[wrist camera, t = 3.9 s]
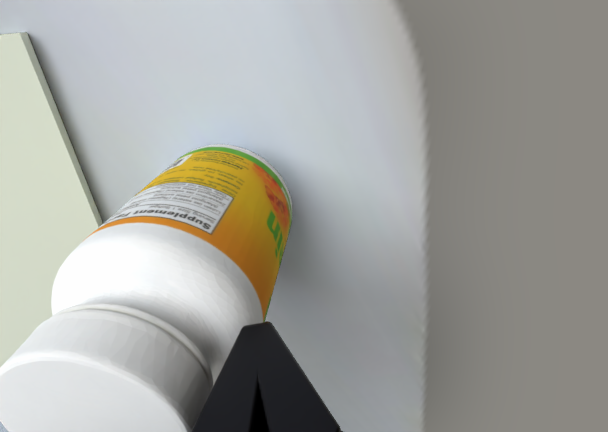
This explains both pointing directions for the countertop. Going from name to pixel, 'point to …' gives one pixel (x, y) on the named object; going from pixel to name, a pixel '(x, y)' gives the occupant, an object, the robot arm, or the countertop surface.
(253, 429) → the robot arm
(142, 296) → the supplement bottle
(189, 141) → the countertop surface
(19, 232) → the sage mat
